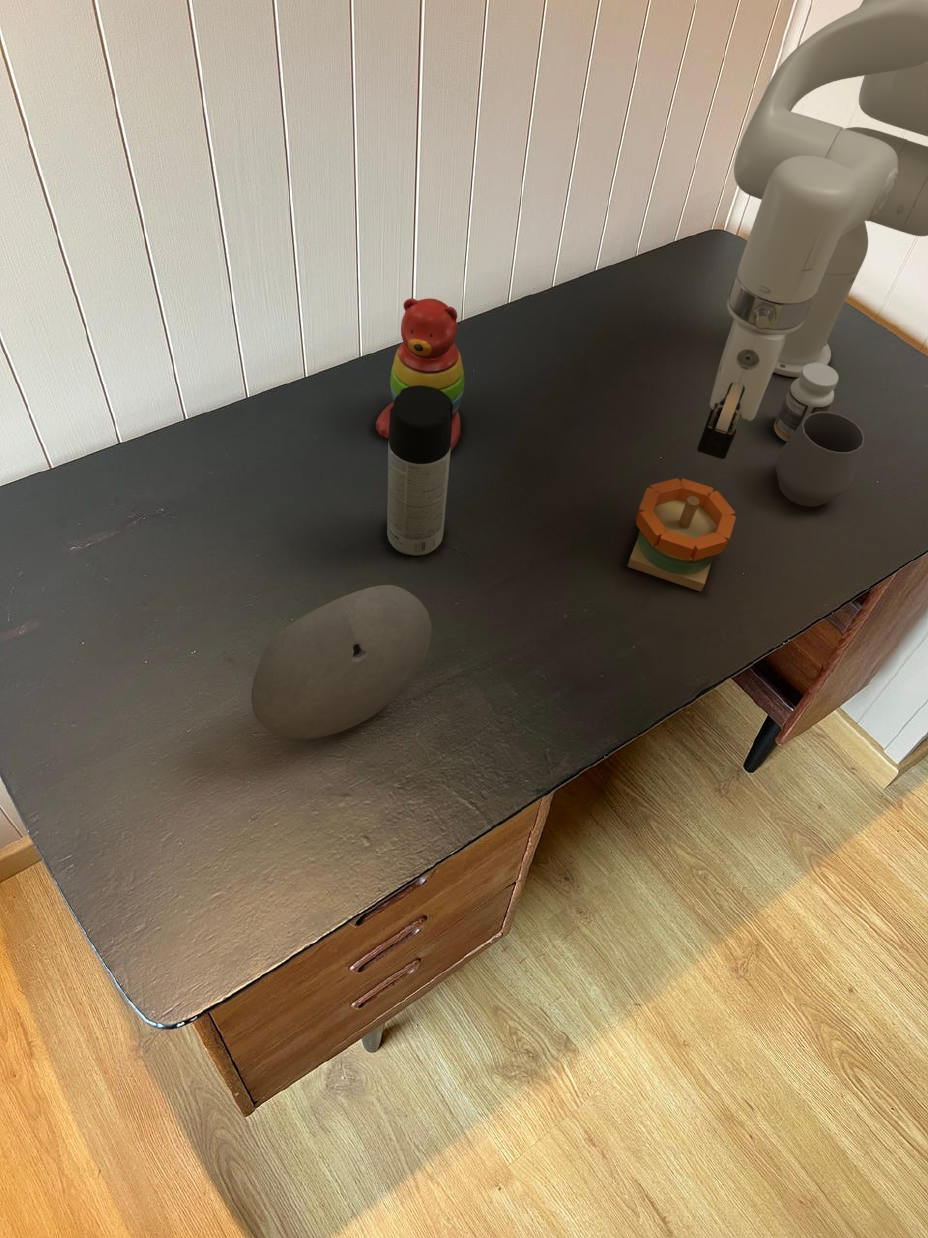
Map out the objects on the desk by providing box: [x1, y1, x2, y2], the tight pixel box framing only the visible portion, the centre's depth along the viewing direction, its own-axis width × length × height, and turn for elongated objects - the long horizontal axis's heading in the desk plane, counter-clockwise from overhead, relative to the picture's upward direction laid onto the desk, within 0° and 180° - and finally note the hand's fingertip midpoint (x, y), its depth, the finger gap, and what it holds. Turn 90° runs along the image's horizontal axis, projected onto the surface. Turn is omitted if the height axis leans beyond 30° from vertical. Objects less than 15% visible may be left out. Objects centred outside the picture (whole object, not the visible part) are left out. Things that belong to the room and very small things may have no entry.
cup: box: [775, 411, 866, 508], centre depth 114 cm, size 10×9×10 cm
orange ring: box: [635, 477, 737, 561], centre depth 105 cm, size 11×11×2 cm
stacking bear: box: [375, 297, 466, 452], centre depth 113 cm, size 11×10×18 cm
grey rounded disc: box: [250, 584, 432, 740], centre depth 85 cm, size 18×7×19 cm, turn 123°
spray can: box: [386, 385, 453, 557], centre depth 100 cm, size 7×7×20 cm
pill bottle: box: [773, 363, 839, 442], centre depth 121 cm, size 6×6×10 cm
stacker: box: [627, 496, 717, 593], centre depth 106 cm, size 9×9×9 cm
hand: (715, 440), depth 101 cm, fingers open, 3 cm apart
